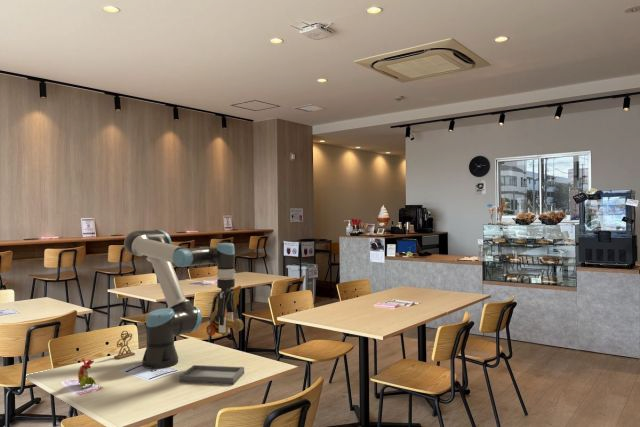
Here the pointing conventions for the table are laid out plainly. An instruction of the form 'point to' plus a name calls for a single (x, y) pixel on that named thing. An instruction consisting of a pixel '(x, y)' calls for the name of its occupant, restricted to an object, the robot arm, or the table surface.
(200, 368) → the gray tray
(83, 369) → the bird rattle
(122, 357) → the wire human figurine
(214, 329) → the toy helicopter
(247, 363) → the table surface
